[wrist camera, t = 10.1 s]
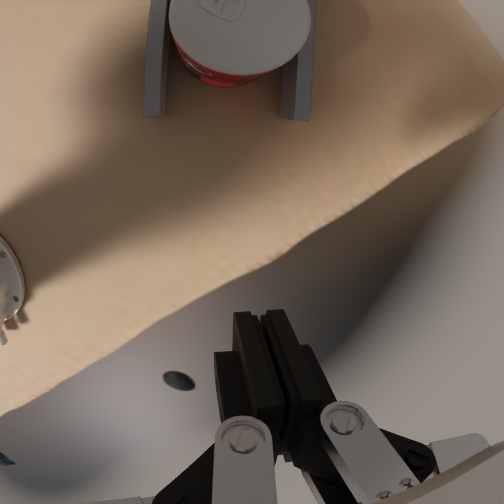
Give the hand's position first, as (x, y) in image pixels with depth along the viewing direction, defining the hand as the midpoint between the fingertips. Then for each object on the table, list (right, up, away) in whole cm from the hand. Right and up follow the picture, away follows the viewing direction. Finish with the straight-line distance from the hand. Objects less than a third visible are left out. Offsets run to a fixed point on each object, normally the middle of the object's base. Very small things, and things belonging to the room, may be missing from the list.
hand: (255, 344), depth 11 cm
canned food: (-2, +21, +13) cm, 24 cm away
